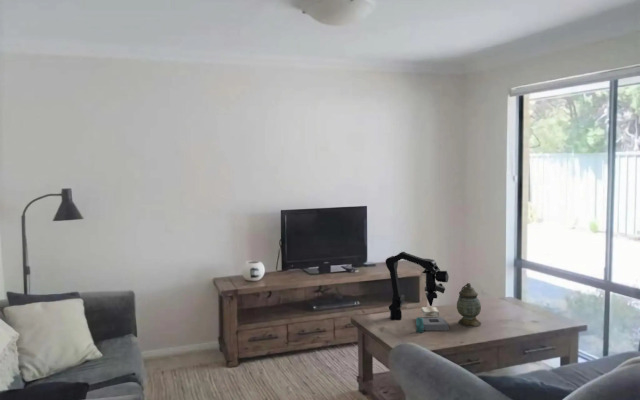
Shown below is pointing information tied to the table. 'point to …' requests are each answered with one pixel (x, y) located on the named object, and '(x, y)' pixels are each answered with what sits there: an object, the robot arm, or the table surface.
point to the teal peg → (419, 325)
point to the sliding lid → (429, 311)
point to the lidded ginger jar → (468, 306)
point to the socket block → (434, 323)
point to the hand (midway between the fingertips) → (430, 305)
